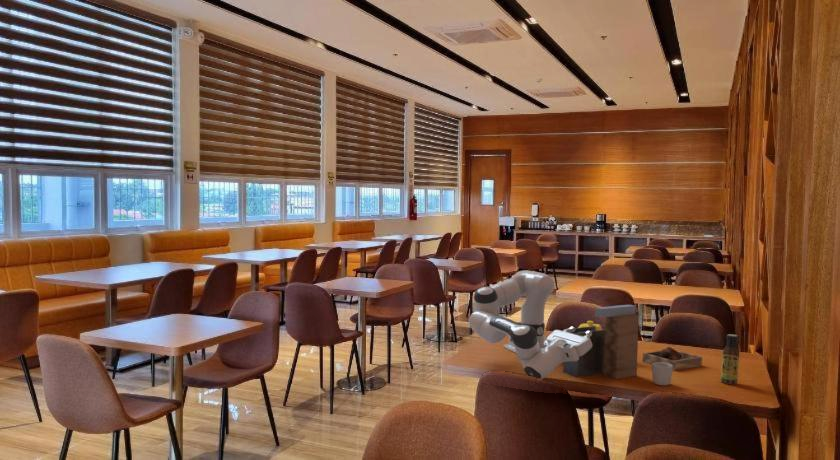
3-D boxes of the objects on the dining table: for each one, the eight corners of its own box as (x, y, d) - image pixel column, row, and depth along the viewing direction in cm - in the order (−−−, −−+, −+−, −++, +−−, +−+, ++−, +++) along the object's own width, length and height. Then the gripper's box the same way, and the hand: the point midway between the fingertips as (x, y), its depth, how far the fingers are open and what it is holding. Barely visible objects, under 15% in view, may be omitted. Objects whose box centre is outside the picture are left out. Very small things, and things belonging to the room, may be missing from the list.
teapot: (566, 345, 328) (567, 320, 327) (587, 340, 340) (587, 316, 340) (601, 352, 313) (602, 326, 312) (621, 347, 326) (622, 322, 325)
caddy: (642, 361, 296) (642, 353, 296) (670, 357, 305) (670, 349, 305) (673, 370, 281) (673, 361, 281) (701, 365, 291) (702, 356, 290)
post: (603, 375, 272) (605, 314, 270) (623, 371, 278) (625, 312, 276) (616, 379, 266) (618, 316, 264) (636, 375, 272) (638, 314, 270)
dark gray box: (563, 372, 275) (564, 329, 274) (592, 367, 284) (594, 326, 283) (577, 377, 268) (578, 333, 267) (607, 372, 277) (608, 329, 276)
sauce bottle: (719, 383, 262) (721, 335, 261) (721, 380, 267) (723, 332, 266) (737, 386, 259) (739, 337, 258) (738, 382, 264) (740, 334, 263)
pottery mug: (658, 359, 302) (668, 345, 301) (676, 372, 297) (686, 357, 296) (651, 358, 293) (661, 343, 292) (669, 370, 287) (679, 355, 286)
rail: (594, 316, 265) (595, 307, 265) (628, 312, 275) (629, 304, 275) (601, 317, 262) (601, 309, 262) (635, 314, 272) (635, 305, 272)
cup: (644, 379, 266) (645, 360, 266) (663, 379, 267) (664, 360, 267) (656, 387, 256) (657, 367, 255) (675, 386, 256) (676, 367, 256)
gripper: (544, 350, 264) (566, 331, 269) (579, 362, 246) (603, 341, 251) (538, 338, 262) (561, 319, 267) (574, 349, 244) (597, 328, 250)
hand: (581, 330), depth 259 cm, fingers open, 8 cm apart
